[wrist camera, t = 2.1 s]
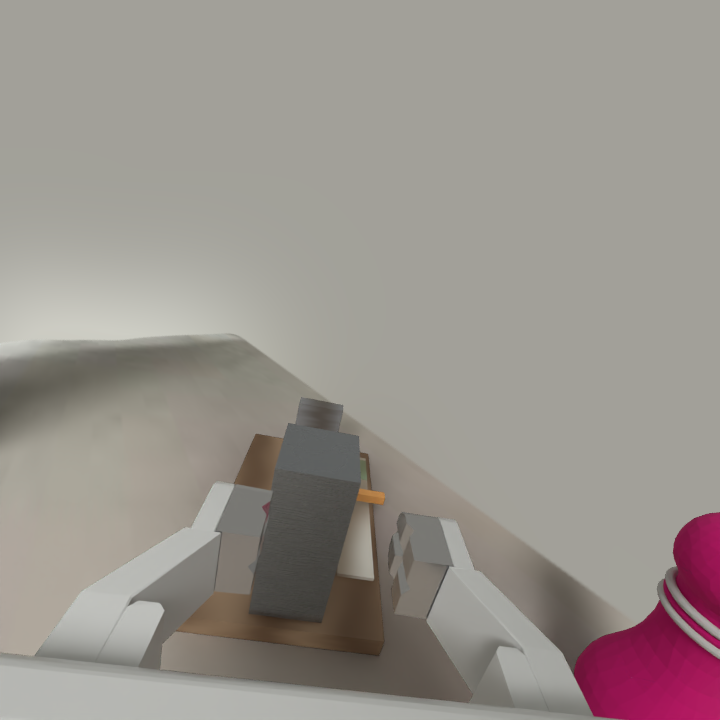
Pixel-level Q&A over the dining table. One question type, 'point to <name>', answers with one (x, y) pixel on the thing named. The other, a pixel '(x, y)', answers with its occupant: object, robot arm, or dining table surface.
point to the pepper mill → (665, 643)
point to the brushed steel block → (306, 523)
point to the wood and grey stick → (371, 496)
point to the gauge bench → (351, 582)
